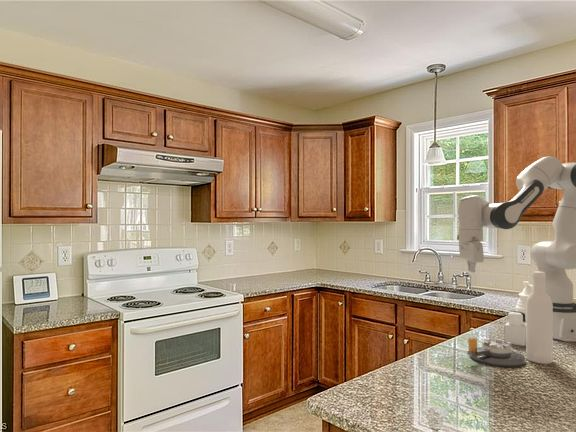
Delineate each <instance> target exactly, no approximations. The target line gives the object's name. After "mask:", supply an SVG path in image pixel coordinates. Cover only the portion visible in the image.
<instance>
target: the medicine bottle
mask: <svg viewBox="0 0 576 432" xmlns="http://www.w3.org/2000/svg"><path fill="white" fill-rule="evenodd" d="M503 331H504V333H503V334H504V338H503V339H504V342H503V343H506V342H510V343H511V345H514V346H520V347H526V321H525V314H524V313H522V312H518V311H516V310H511V311H508V312H507V323H505V324H504V329H503Z"/></svg>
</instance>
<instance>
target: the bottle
mask: <svg viewBox="0 0 576 432" xmlns="http://www.w3.org/2000/svg"><path fill="white" fill-rule="evenodd" d="M545 278H546V276H545V272H539V271H532V285H533V293H531V294H530V295H529V296H528V298H527V301H526V321H525V324H526V345H525V347H526V348H525V355H526V358H525V359H526V360H527V361H529V362H532V363H535V364H540V365H541V364H543V365H544V364H545V365H547V364H548V365H550V364H552V363H553V362H554V338H553V304H552V301H551V298H550V297H549V296H548V295H547V294H546V293H545Z"/></svg>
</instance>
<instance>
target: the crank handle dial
mask: <svg viewBox="0 0 576 432" xmlns="http://www.w3.org/2000/svg"><path fill="white" fill-rule="evenodd" d="M481 345H482V346H481V347H482V349H479V350H477V348H478V339H477V338H476V337H475V338H474V337H468V351H467V352H466V353H467V355H468V356H470V355H471V356H475V355H481V354H485V355H488V356H491V357H498V358H508V357H511V351H512V344H511V343H510V342H506V343H505V342H503V339H500V338H496V339H495V340H494V341H492V340H491V338H484V339H483V340H482V341H481Z"/></svg>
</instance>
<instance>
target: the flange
mask: <svg viewBox="0 0 576 432" xmlns="http://www.w3.org/2000/svg"><path fill="white" fill-rule="evenodd" d="M479 349H482V346H481V347H477V350H479ZM469 358H470V359H471V360H473V361H475V362H477V363H480V364H483V365H487V366H491V367H500V368H518V367H522V366H524V365H525V364H526V358H525V356H524V355H523V354H522V353H519V352H516V351H513V350H511V357H508V358H498V357H491V356H488V355H485V354H481V355H475V356H471V355H469Z"/></svg>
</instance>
